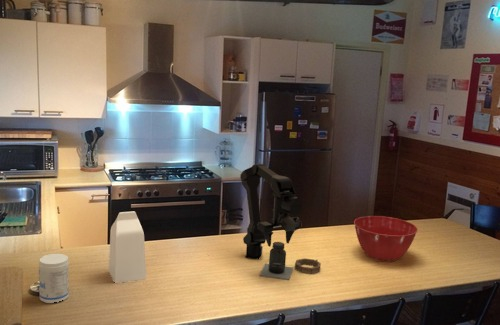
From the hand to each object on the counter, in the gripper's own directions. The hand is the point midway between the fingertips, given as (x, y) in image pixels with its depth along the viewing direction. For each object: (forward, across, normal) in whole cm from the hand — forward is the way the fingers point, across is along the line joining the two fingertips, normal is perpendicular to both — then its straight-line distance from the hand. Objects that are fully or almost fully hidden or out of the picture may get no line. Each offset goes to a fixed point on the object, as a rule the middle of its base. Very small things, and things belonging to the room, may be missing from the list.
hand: (278, 244), depth 197 cm
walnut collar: (+12, +14, -3) cm, 19 cm away
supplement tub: (+12, -84, +16) cm, 87 cm away
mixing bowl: (+12, +56, -6) cm, 57 cm away
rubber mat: (+12, 0, 0) cm, 12 cm away
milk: (+12, -56, +23) cm, 62 cm away
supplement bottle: (+12, 0, 0) cm, 12 cm away
